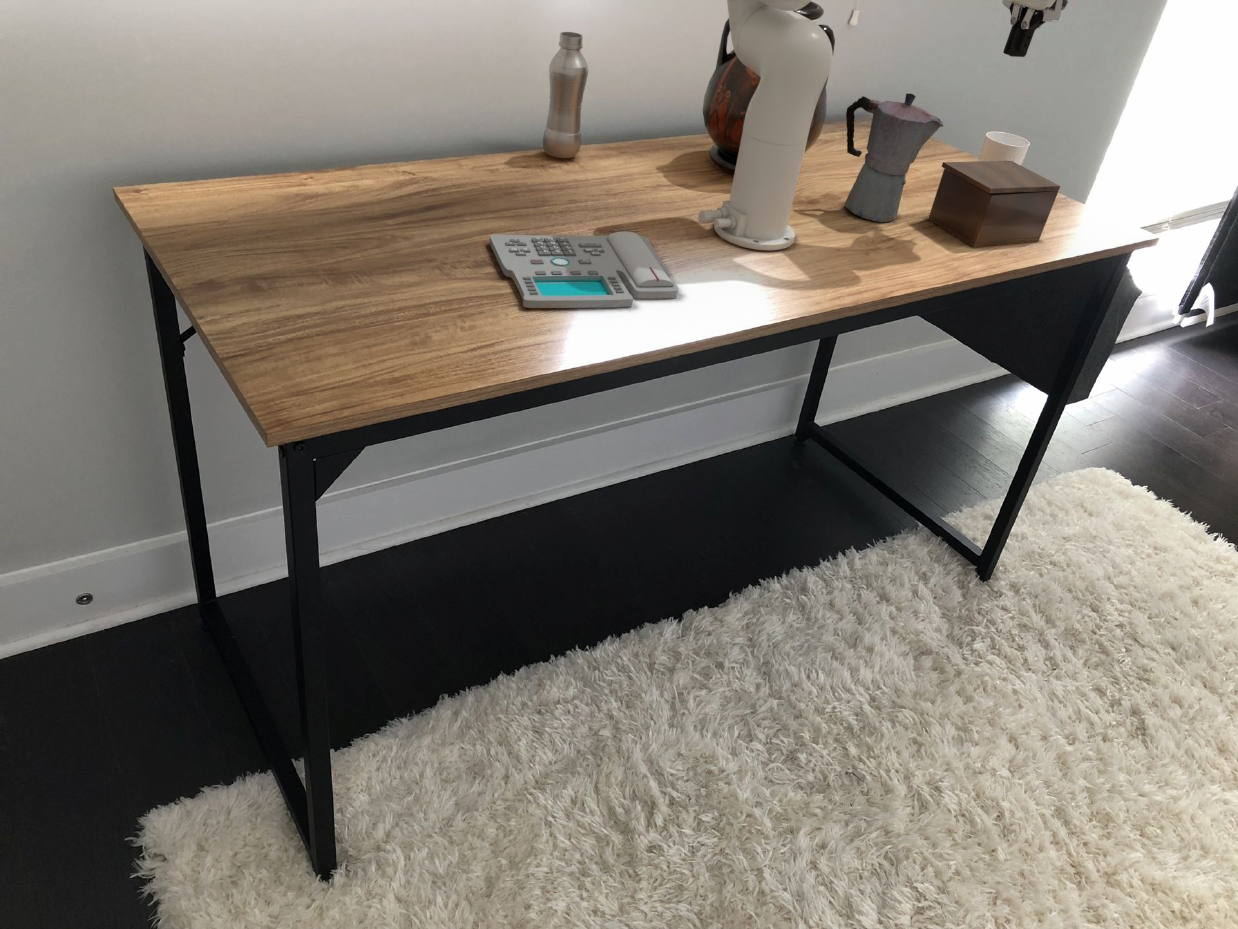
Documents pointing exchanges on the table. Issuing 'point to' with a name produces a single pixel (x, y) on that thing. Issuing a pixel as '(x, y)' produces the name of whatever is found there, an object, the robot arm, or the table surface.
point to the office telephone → (583, 269)
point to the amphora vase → (745, 99)
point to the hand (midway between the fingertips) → (1014, 54)
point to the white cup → (1004, 147)
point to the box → (989, 213)
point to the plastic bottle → (566, 97)
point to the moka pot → (886, 154)
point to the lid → (1000, 176)
